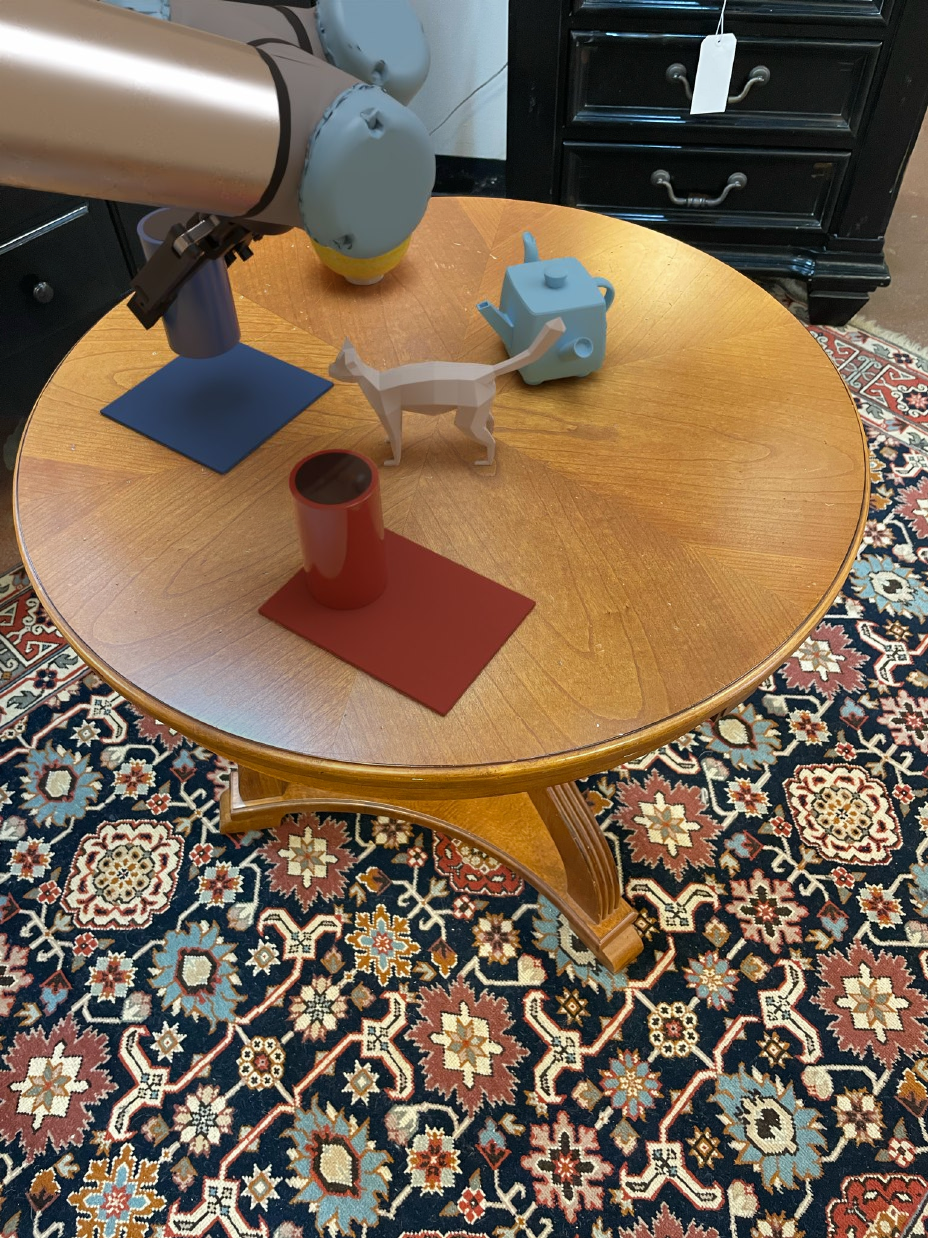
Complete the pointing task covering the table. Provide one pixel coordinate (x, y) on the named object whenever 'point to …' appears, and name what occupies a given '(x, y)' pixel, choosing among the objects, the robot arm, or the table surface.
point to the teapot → (552, 314)
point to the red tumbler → (340, 527)
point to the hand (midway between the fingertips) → (169, 296)
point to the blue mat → (218, 404)
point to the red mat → (411, 623)
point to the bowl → (361, 263)
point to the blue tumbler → (194, 296)
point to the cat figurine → (437, 389)
